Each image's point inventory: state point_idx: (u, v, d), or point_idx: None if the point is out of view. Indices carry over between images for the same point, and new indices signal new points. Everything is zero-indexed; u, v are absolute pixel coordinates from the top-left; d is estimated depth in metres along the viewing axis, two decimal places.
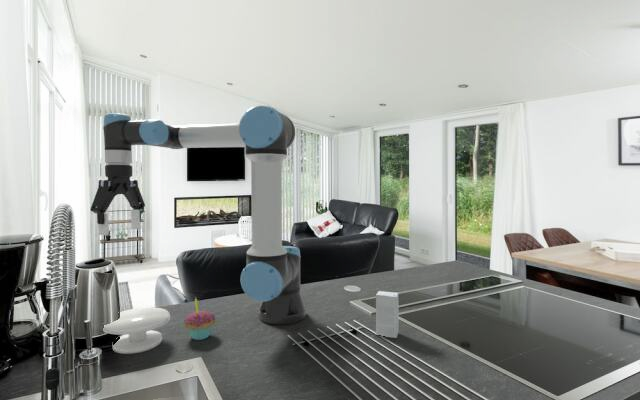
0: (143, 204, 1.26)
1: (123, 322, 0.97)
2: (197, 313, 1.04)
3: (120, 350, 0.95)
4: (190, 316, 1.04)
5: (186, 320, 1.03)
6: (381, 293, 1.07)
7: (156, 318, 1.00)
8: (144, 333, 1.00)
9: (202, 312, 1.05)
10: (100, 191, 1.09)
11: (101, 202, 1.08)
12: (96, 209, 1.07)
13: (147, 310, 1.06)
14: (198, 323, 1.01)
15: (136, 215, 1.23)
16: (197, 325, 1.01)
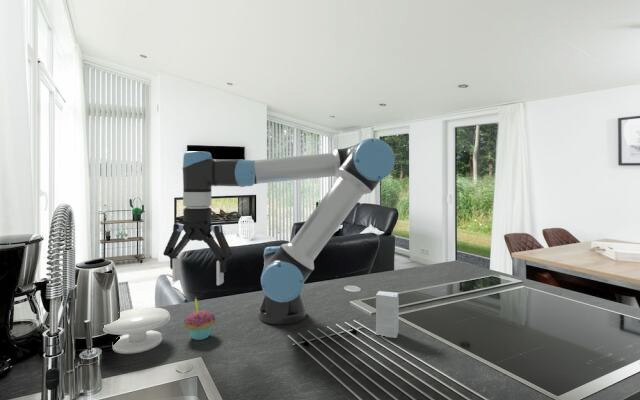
0: (226, 256, 1.01)
1: (123, 322, 0.97)
2: (197, 313, 1.04)
3: (120, 350, 0.95)
4: (190, 316, 1.04)
5: (186, 320, 1.03)
6: (381, 293, 1.07)
7: (156, 318, 1.00)
8: (144, 333, 1.00)
9: (202, 312, 1.05)
10: None
11: (168, 246, 1.05)
12: None
13: (147, 310, 1.06)
14: (198, 323, 1.01)
15: None
16: (197, 325, 1.01)
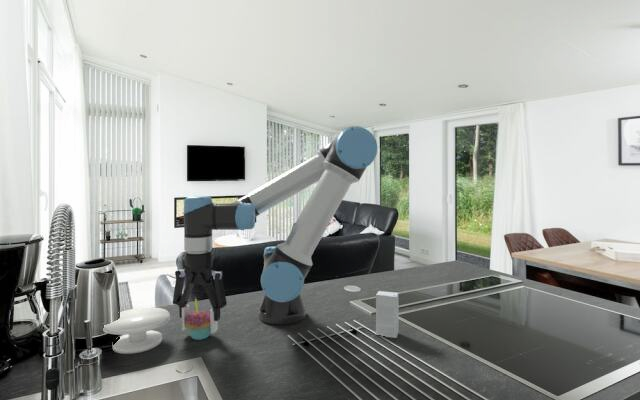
0: (220, 305, 1.02)
1: (123, 322, 0.97)
2: (197, 313, 1.04)
3: (120, 350, 0.95)
4: (190, 316, 1.04)
5: (186, 320, 1.03)
6: (381, 293, 1.07)
7: (156, 318, 1.00)
8: (144, 333, 1.00)
9: (202, 312, 1.05)
10: None
11: (175, 295, 1.05)
12: None
13: (147, 310, 1.06)
14: (198, 323, 1.01)
15: None
16: (197, 325, 1.01)
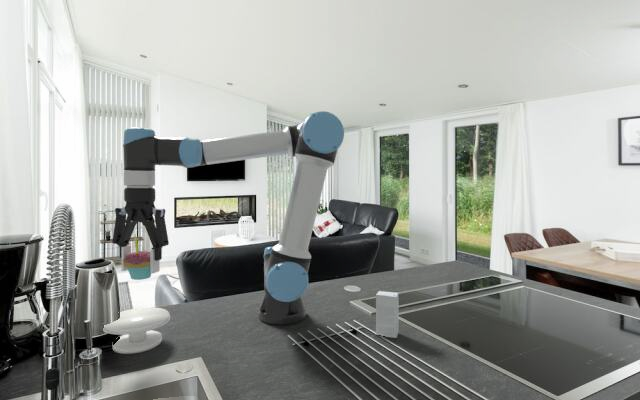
0: (160, 243, 0.97)
1: (123, 322, 0.97)
2: (137, 252, 0.99)
3: (120, 350, 0.95)
4: (129, 255, 0.98)
5: (125, 259, 0.98)
6: (381, 293, 1.07)
7: (156, 318, 1.00)
8: (144, 333, 1.00)
9: (143, 252, 1.00)
10: None
11: (115, 233, 1.00)
12: None
13: (147, 310, 1.06)
14: (136, 261, 0.96)
15: None
16: (135, 263, 0.96)
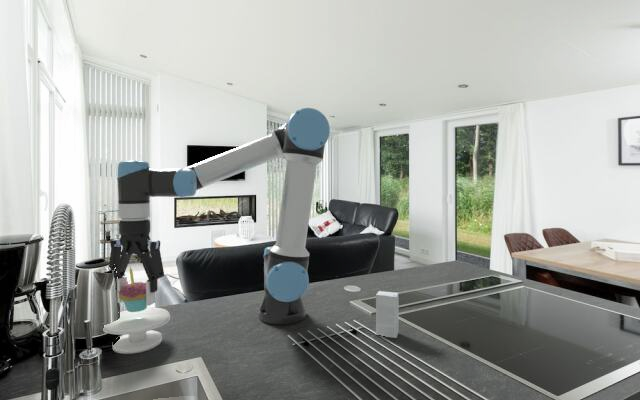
0: (156, 275, 0.97)
1: (123, 322, 0.97)
2: (132, 284, 0.99)
3: (120, 350, 0.95)
4: (125, 287, 0.98)
5: (120, 291, 0.98)
6: (381, 293, 1.07)
7: (156, 318, 1.00)
8: (144, 333, 1.00)
9: (138, 283, 1.00)
10: None
11: (110, 265, 1.00)
12: None
13: (147, 310, 1.06)
14: (132, 294, 0.96)
15: None
16: (130, 296, 0.96)
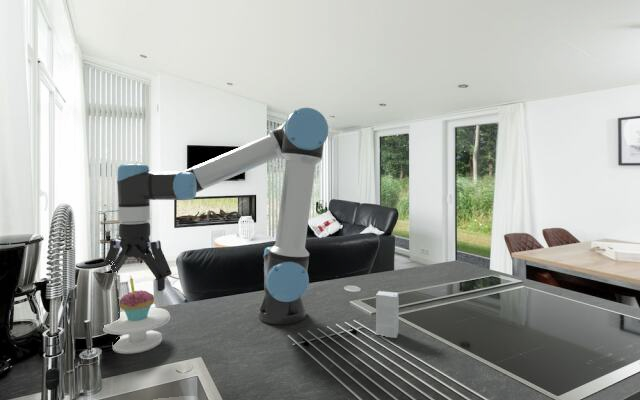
0: (163, 274, 0.97)
1: (123, 322, 0.97)
2: (133, 293, 0.99)
3: (120, 350, 0.95)
4: (125, 296, 0.98)
5: (121, 300, 0.98)
6: (381, 293, 1.07)
7: (156, 318, 1.00)
8: (144, 333, 1.00)
9: (139, 292, 1.00)
10: None
11: None
12: None
13: None
14: (132, 303, 0.96)
15: None
16: (131, 305, 0.96)
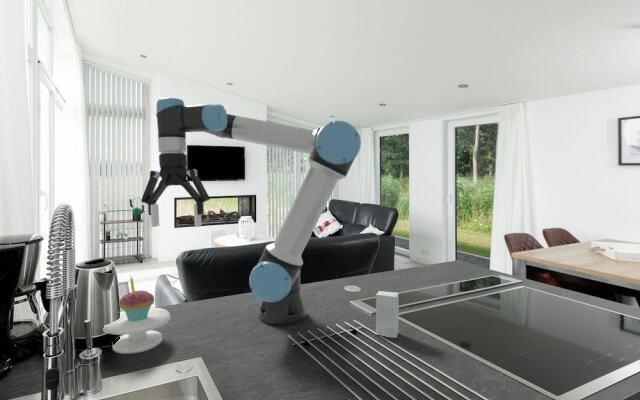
0: (203, 198, 1.05)
1: (123, 322, 0.97)
2: (133, 293, 0.99)
3: (120, 350, 0.95)
4: (125, 296, 0.98)
5: (121, 300, 0.98)
6: (381, 293, 1.07)
7: (156, 318, 1.00)
8: (144, 333, 1.00)
9: (139, 292, 1.00)
10: None
11: (145, 193, 1.08)
12: None
13: None
14: (132, 303, 0.96)
15: None
16: (131, 305, 0.96)
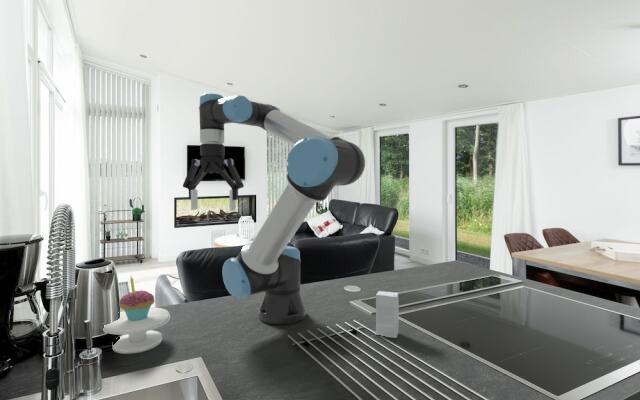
0: (238, 185, 1.17)
1: (123, 322, 0.97)
2: (133, 293, 0.99)
3: (120, 350, 0.95)
4: (125, 296, 0.98)
5: (121, 300, 0.98)
6: (381, 293, 1.07)
7: (156, 318, 1.00)
8: (144, 333, 1.00)
9: (139, 292, 1.00)
10: None
11: (186, 179, 1.20)
12: None
13: None
14: (133, 303, 0.96)
15: None
16: (131, 305, 0.96)
